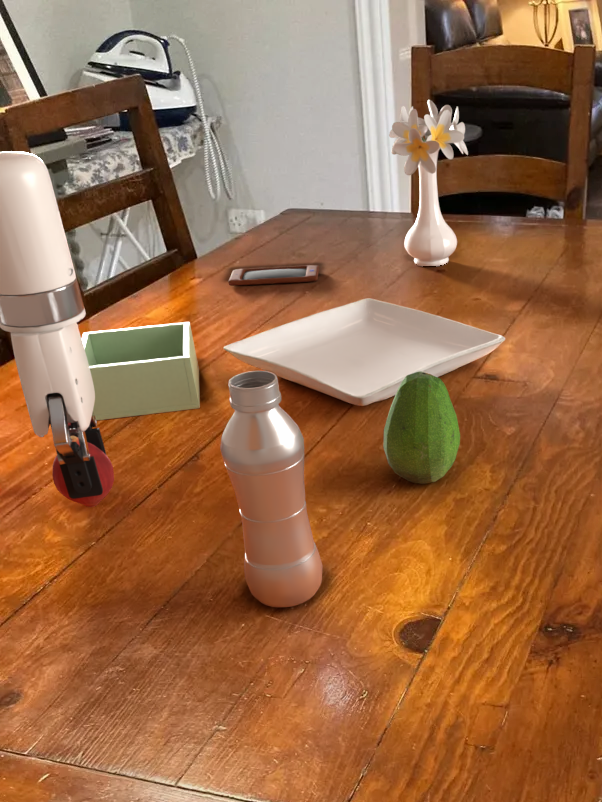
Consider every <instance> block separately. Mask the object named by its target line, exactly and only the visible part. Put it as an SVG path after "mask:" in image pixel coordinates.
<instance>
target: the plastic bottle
mask: <svg viewBox="0 0 602 802" xmlns="http://www.w3.org/2000/svg"><path fill="white" fill-rule="evenodd" d="M228 390H229V406H230V407H231V409H233V410H234V412H233V414H232V415H231V417H230V418H229V420H228V422H227V423H226V426H225V428H224V430H223V432H222V435H221V438H220V447H219V450H220V453H221V458H222V461H223V463H224V467H225V469H226V472H227V474H228V477H229V480H230V483H231V485H232V488H233V491H234V494H235V498H236V502H237V505H238V509H239V514H240V517H241V523H242V533H243V543H244V544H243V545H244V561H243V562H244V579H245V582H246V585H247V587H248V589H249V591H250V594H251V595H252V597H254V599H256V600H257V601H258V602H260V603H261V604H263V605H265V606H268V607H271V608H289V607H295V606H298V605H301V604H303V603H305V602H307V601H309V600H310V599H312V598H313V597H314V596H315V595H316V593H317V592H318V590H319V588H320V587H321V585H322V582H323V581H322V580H323V562H322V560H321V555H320V552H319V549H318V547H317V545H316V542H315V540H314V536H313V532H312V527H311V524H310V519H309V516H308V511H307V509H308V508H307V502H306V501H307V500H306V490H305V489H306V487H305V438H304V436H303V433H302V431H301V429H300V426H299V425H298V424H297V423H296V422H295V420H294V419H293V418H292V416H290V414H288V413H287V412H286V411H285V410H284V409H283V408H282V407H281V406H280V405H279V404H280V403H281V402H282V393H281V391H280V386H279V379H278V376H277V375H275V374H274V373H272V372H268V371H265V370H251V371H244V372H241V373H238V374H236V375H234V376H231V377H230V379H229V380H228Z"/></svg>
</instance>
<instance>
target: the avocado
mask: <svg viewBox="0 0 602 802" xmlns="http://www.w3.org/2000/svg"><path fill="white" fill-rule="evenodd" d="M459 426H460V425H459V422H458V417H457V413H456V411H455V408H454V405H453V403H452V399H451V397H450V394H449V391H448V388H447V386H446V384H445V382H443V380H442V379H441V378H440V377H436V376H433V375H431V374H429V373H426V372H422V371H418V372H415V373H412V374H409V375H407V376H406V377H405V378H404V380H403V381H402V382H401V384H400V386H399V388H398V390H397V393H396V395H394V398H393V400H392V403H391V405H390V408H389V411H388V415H387V417H386V421H385V425H384V428H383V451H384V454H385V457H386V460H387V464H388V465H389V467H390V468H391V469H392V471H393V472H394V473H395V474H396V475H397V476H399V477H400V478H403V479H404V480H406V481H408V482H409V483H412V484H413V483H414V484H421V485H424V484H430V483H436V482H437V481H439V480H440V479H442V478H443V477H444V476H446V474H447V473H448V471H450V470H451V468H452V467H453V465H454V463H455V461H456V459H457V455H458V452H459V447H460V444H461V432H460V427H459Z"/></svg>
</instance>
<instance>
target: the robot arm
mask: <svg viewBox="0 0 602 802" xmlns="http://www.w3.org/2000/svg"><path fill="white" fill-rule="evenodd" d="M65 232H66V231H65V229H64V225H63V220H62V217H61V212H60V210H59V206H58V201H57V198H56V194H55V191H54V186H53V182H52V179H51V176H50V172H49V169H48V167H47V165H46V164H45V162H44V161H43V160H42V159H41V158H40V157H38V156H37V155H35V154H33V153H29V152H26V151H0V329H1V330H2V331H5V332H9V333H10V338H11V346H12V350H13V355H14V360H15V365H16V369H17V373H18V378H19V381H20V385H21V389H22V392H23V396H24V400H25V404H26V407H27V412H28V415H29V419H30V421H31V426H32V430H33V432H34V434H35V435H36V436H37V437H39V438H44V437H45V436H46V435H48V432H49V429H51V434H52V441H53V446H54V448H55V452H56V456H57V457H58V461H59V465H60V468H61V472H62V475H63V478H64V481H65V485H66V488H67V491H68V494H69V497H70V498H72V499H76V498H83V497H91V496H98V495H101V494H102V493H103V487H102V484H101V480H100V477H99V473H98V470H97V466H96V463H95V459H94V456H91V457H90V454H89V449H88V444H87V442H89V443H91V444H93V445H95V446H96V447H98V448H99V449H100V450H101V451H103V452H104V453H105V454H106V455H107V452H106V448H105V444H104V440H103V436H102V433H101V430H100V427H98V422H97V421H98V420H96V417H95V415H94V412H93V407H94V402H95V391H94V385H93V380H92V376H91V372H90V368H89V364H88V360H87V356H86V353H85V349H84V346H83V342H82V335H81V332H80V329H79V325H78V323H79V322H80V321H82V320H83V319H84V318H85V317H86V315H87V313H86V309H85V306H84V302H83V297H82V294H81V290H80V286H79V282H78V278H77V274H76V269H75V267H74V263H73V260H72V256H71V251H70V248H69V244H68V240H67V236H66V233H65ZM70 436H76V437H77V438H78V439H79V444H80V446H79V445H78V444H77V442H72V439H71V438H70Z"/></svg>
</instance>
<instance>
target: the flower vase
mask: <svg viewBox="0 0 602 802" xmlns="http://www.w3.org/2000/svg"><path fill="white" fill-rule="evenodd" d="M427 106H428V111H429V114H425V115H424V116H423V118H422V117H419V115H418V111H417V109H416V108H414V106H413V105H412V106H411V107H410V108H409V111H407V108H406V106H405V105H402V106H401V108H400V111H399V121H395V122H393V123H392V124H391V130H390V131H389V134H388V136H389V138H391V139H395V138H396V139H395V140H394V142H393V144H392V147H391V154H392V155H399V156H403V157H407V158H406V160H405V163H404V167H403V172H404V174H405V175H406V176H412V175H413V174H414V173H415V172H416V171H417V169H418V176H419V178H418V179H419V180H418V181H419V202H418V203H419V206H418V211H417V217H416V219H415V222H414V223H413V224H412V226H411V227H410V229H408V231H407V233H406V235H405V237H404V242H403V246H404V249H405V251H406V253H407V254H408V255H409V256H411V257H412V258H413V262H414V265H416V264H417V265H416V266H418V267H423V266H436V267H441V266H440V265H442V266H444V264H445V265H447V264H448V263H449V261H450V258H449V257H450V256H451V255H453V253H454V252H456V248H457V246H458V239H457V236H456V234H455V232H454V230H453V229H452V227H450V225H448V223H447V222H446V221H445V219H444V217H443V215H442V212H441V207H440V202H439V191H438V176H437V169H438V158H439V152H440V150H441V152H442V153H443V155H444V156H445V157H446V158H447V159H448V160H453V159H454V155H455V154H454V150H453V147H452V146H451V145H452V144H454V145H455V146H456V147H457V148H458V149H459V151H460V153H461V154H462V155H464V154H465V155H467V156H468V155H469V151H468V148H467V145H466V143H465V141H464V140H465V133H466V126H465V125H466V124H465V123H464V122H463V121H461V122H459V119H460V111H459V106H456V108H455V112H454V117H453V120H452V116H453V115H452V114H453V109H452V107H451V105H449V104H445V105H444V106H442V107H441V109H440V111H438V110H439V109H438V108H437V105H436V104H435V103H434V102H433V100H431V99H428V100H427ZM446 263H447V264H446Z"/></svg>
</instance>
